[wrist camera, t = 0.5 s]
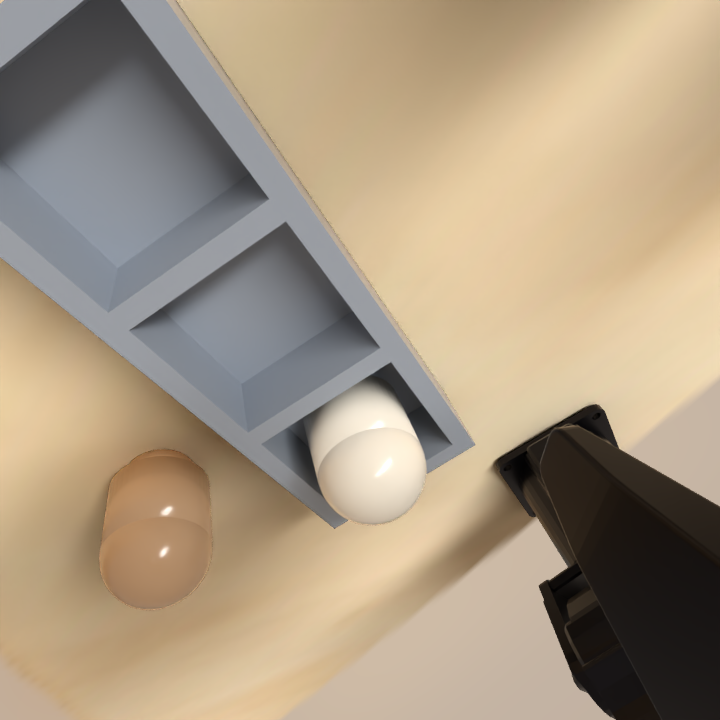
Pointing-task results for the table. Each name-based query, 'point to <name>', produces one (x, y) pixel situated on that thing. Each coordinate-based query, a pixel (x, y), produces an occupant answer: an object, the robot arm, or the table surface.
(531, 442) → the robot arm
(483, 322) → the table surface
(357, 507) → the cream egg
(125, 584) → the brown egg
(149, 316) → the egg tray
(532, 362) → the table surface
